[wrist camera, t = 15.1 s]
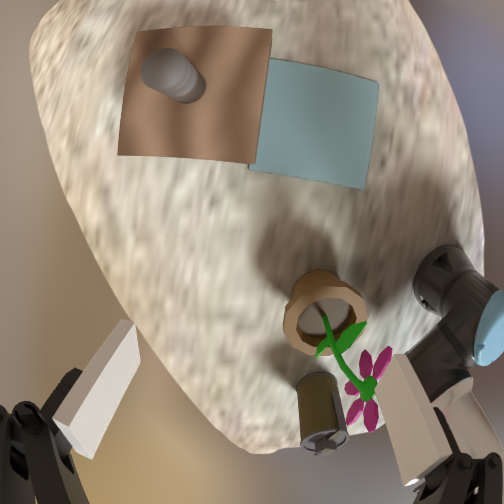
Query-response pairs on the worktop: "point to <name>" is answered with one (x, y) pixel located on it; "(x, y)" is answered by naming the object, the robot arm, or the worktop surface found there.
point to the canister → (320, 414)
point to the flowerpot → (335, 334)
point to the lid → (196, 93)
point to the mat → (316, 124)
